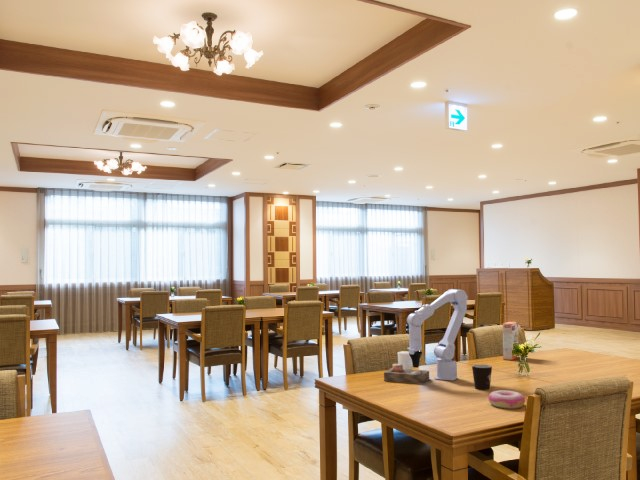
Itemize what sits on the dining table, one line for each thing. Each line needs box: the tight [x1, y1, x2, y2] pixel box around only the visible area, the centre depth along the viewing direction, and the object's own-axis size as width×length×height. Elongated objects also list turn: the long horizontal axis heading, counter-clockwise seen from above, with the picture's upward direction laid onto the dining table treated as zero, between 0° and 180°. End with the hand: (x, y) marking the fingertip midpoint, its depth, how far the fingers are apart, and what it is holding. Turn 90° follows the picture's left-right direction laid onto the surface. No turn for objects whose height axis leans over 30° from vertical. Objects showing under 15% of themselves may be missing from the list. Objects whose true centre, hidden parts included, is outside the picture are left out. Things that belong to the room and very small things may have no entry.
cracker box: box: [502, 321, 519, 361], centre depth 323 cm, size 14×6×21 cm, turn 147°
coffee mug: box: [471, 363, 493, 391], centre depth 247 cm, size 12×9×10 cm
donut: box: [488, 389, 526, 410], centre depth 217 cm, size 14×13×5 cm
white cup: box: [397, 350, 413, 370], centre depth 286 cm, size 8×8×10 cm
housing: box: [383, 367, 430, 385], centre depth 266 cm, size 19×12×4 cm, turn 65°
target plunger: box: [391, 363, 403, 372], centre depth 268 cm, size 5×5×4 cm
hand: (415, 367), depth 264 cm, fingers closed
